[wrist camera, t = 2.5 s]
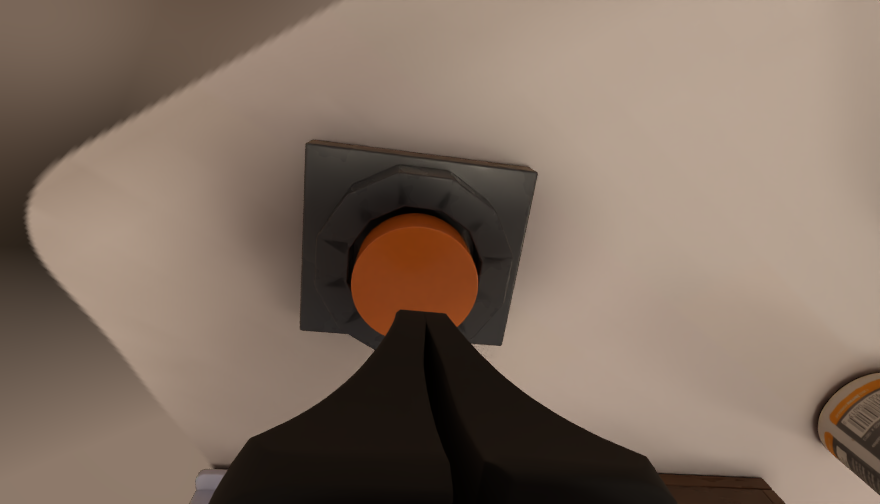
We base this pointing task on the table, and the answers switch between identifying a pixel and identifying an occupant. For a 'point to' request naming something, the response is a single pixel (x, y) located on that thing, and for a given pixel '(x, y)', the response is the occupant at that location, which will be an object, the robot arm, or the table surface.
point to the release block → (400, 192)
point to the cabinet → (719, 490)
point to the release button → (413, 271)
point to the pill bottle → (855, 428)
